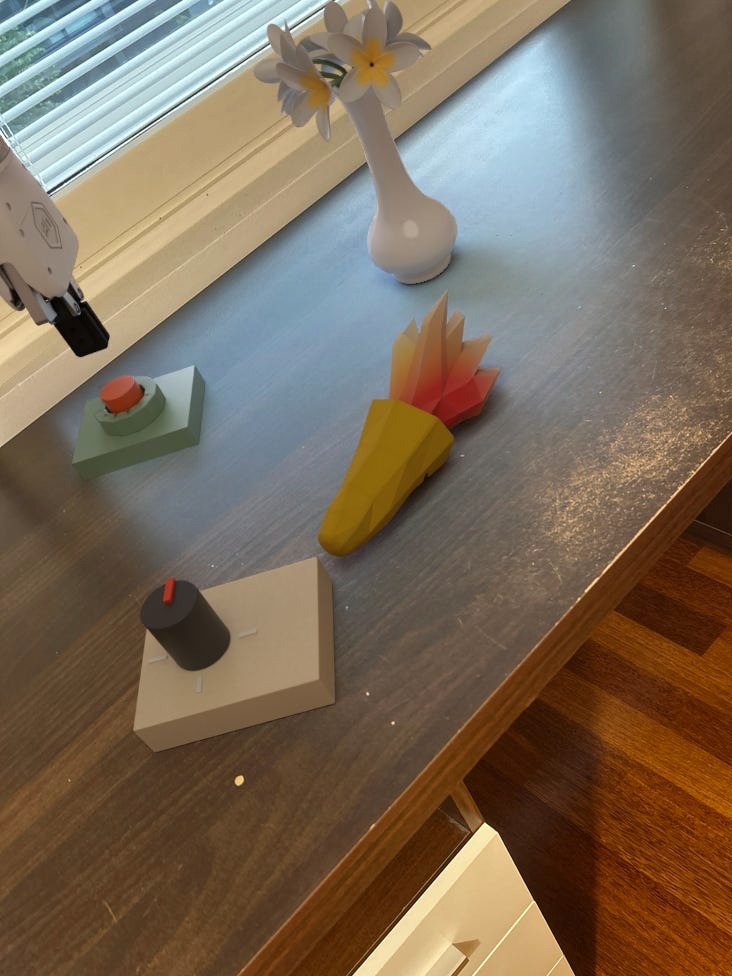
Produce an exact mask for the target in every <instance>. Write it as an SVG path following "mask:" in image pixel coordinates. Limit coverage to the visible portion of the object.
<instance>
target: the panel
mask: <svg viewBox="0 0 732 976" xmlns="http://www.w3.org/2000/svg"><path fill="white" fill-rule="evenodd" d="M199 591H200V592H201V594H202V595H203V596H204V598H205V599H206V600H207V602H208V603H209V604H210V606H211V607H212V608H213V610H214V611H215V612H216V614H217V615H218V616H219V618H220V619H221V620H222V622H223V623H224V624H225V626H226V627H227V628H228V630H229V632H230V643H229V646H228V648H227V650H226V651H225V653H224V654H223V655H222V657H221V658H220V659H218V660H217V661H216V662H215V663H213V664H212V665H210V666H208V667H206V668H204V669H201V670H195V671H189V670H185V669H183V668H181V667H179V666H178V664H177V663H176V662H175V661H174V660H173V659H172V657H171V656H170V655H169V654H168V653H167V652H166V650H165V649H164V648H163V647H162V646H161V645H160V643H159V642H158V641H157V640H156V639H155V637H154V636H153V635H152V634H151V633H150V632H149V630H148V629H147V628H146V631H145V637H144V646H143V654H142V660H141V661H142V662H141V669H140V676H139V684H138V691H137V692H138V693H137V698H136V706H135V713H134V722H133V729H132V730H133V732H134V733H135V734H136V735H137V737H139V738H140V739H141V741H143V742H144V743H145V745H146V746H148V747H149V748H150V750H152V751H153V752H154V753H158V752H162V751H165V750H169V749H174V748H177V747H180V746H184V745H187V744H192V743H196V742H199V741H202V740H205V739H209V738H213V737H217V736H220V735H224V734H229V733H231V732H235V731H239V730H242V729H246V728H250V727H253V726H257V725H261V724H264V723H268V722H272V721H276V720H279V719H282V718H287V717H290V716H294V715H297V714H301V713H305V712H308V711H311V710H312V711H313V710H316V709H319V708H322V707H323V708H324V707H326V706H330V705H334V704H336V679H335V677H336V675H335V673H336V672H335V639H334V638H335V637H334V601H333V599H334V598H333V597H334V596H333V581H332V579H331V577H330V575H329V574H328V572H327V570H326V568H325V567H324V566H323V563H322V562H321V560H320V559H319V557H318V556H313V557H310V558H307V559H303V560H300V561H297V562H293V563H290V564H287V565H283V566H280V567H276V568H273V569H269V570H267V571H263V572H260V573H256V574H253V575H249V576H246V577H243V578H240V579H236V580H233V581H229V582H226V583H222V584H219V585H216V586H212V587H209V588H206V589H202V590H199Z"/></svg>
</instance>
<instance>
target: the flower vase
mask: <svg viewBox="0 0 732 976" xmlns="http://www.w3.org/2000/svg"><path fill="white" fill-rule="evenodd" d="M366 2H367V6H368V8H366V9H364V10H362V11H360V12H359V13H356V14H354V15H352V17H350V18H349V19H348V16H347V14H346V12H345V9H344V8H343V6H341V4H340V3H338V2H337V1H333V0H331V1H329V2H327V3H326V4H325V7H324V8H323V23H324V26H325V29H326V31H319V32H318V31H316V32H314V33H312V34H310V35H304V36H303V37H302V38H300V39H299V40H298V42H297V43H296V42H295V41H294V38H293V36H292V34H291V31H290V28H289V25H288V23H287V20H286V18H284V21H283V22H284V30H283V29H282V28H281V27H280V26H278V25H277V24H276V23H269V24H268V25H267V26H266V36H267V39H268V42H269V44H270V47H271V49H272V50H273V51H274V53H275V54H276V55H278V57H269V58H266V59H262V60H261V61H259V62H257V63H256V64H255V65H254V67H253V69H252V70H253V71H252V72H253V76H254V77H255V79H256V80H257V81H259V82H261V83H264V84H271V85H272V84H273V85H274V84H278V87H277V88H278V89H277V95H276V97H277V102H278V103H279V102H281V109H280V114H279V115H280V116H281V117H282V115H283V113H285V114H286V115H287V116H289V117H290V118H291V123H292V124H293V125H294V127H295V128H297V129H299V128H303V127H305V126H306V125H307V123H309V121H310V120H311V119H312V118H313V116H314V115H315V123H316V124H315V125H316V128H317V130H318V131H317V132H318V133H319V135H320V137H321V138H322V140H324V141H325V142H326V143H329V141H330V140H331V136H332V135H331V133H332V132H331V120H330V106H332V105H333V104H334V103H335V101H336V100H335V99H338V100H339V102H340V104H341V105H342V107H343V109H344V111H345V112H346V113H347V116H348V118H349V119H350V121H351V123H352V125H353V127H354V130H355V132H356V134H357V137H358V140H359V143H360V145H361V148H362V151H363V154H364V157H365V159H366V162H367V165H368V169H369V172H370V176H371V178H372V182H373V186H374V191H375V211H374V212H375V213H374V215H373V216H374V217H373V219H372V220H371V223H370V225H369V227H368V232H367V236H366V244H367V245H366V246H367V254H368V257H369V258H370V260H371V261H372V263H373V265H374V266H375V267H377V268H379V269H380V270H382V271H383V272H384V273H387V274H389V275H393V277H394V278H395V280H396V281H398V282H400V283H401V284H406V285H417V284H422V283H425V282H428V281H430V280H432V279H435V278H436V277H438V276H439V275H441V274H442V273H443V272H444V271H445V270H446V269H447V268H448V266H449V265H450V263H451V259H452V254H451V252H452V251H453V249H454V247H455V244H456V241H457V238H458V232H459V227H458V223H457V219H456V218H455V216H454V214H453V213H452V211H451V210H450V209H449V207H447V206H446V204H445V203H443V202H442V201H440V200H438V199H436V198H434V197H432V196H430V195H428V194H426V193H424V192H423V191H422V190H421V189H420V187H419V186H417V184H416V183H415V182H414V180H413V179H412V178H411V176H410V173H409V172H408V170H407V168H406V166H405V164H404V162H403V159H402V157H401V154H400V152H399V149H398V147H397V145H396V141H395V140H394V139H395V138H394V137H393V134H392V131H391V128H390V126H389V123H388V120H387V117H386V114H385V110H384V106H385V107H386V108H388V109H389V110H397V109H399V108H401V105H402V99H403V97H402V91H401V87H400V85H399V83H398V81H397V79H396V77H395V76H394V75H393V73H397V72H401V71H403V70H404V71H405V70H406V69H408V68H410V67H412V66H413V65H414V64H415V63H416V62H417V61H418V60H419V58H420V57H421V58H425V56H424V54H423V53H422V52H421V51H420V50H422V51H431V50H432V49H433V48H432V46H431V44H430V43H429V42H428V41H426V40H425V39H424V38H422V37H421V36H419V35H418V34H415V33H413V32H408V31H403V32H401V30H402V29H403V25H404V24H403V23H404V21H403V20H404V19H403V15H402V13H401V11H400V9H399V7H398V5H397V4H395V2H393V1H392V0H386V1H385V2H384V5H383V9H381V8H380V6H379V3H378V2H377V1H376V0H366ZM400 32H401V33H400ZM316 65H320V70H318V68H317V67H316ZM344 65H347V66H349V67H351V69H350V70H348V71H347V69H346V68H344ZM336 71H338V72H340V73H341V75H339V74H337V73H335V72H336ZM326 79H330V81H327V80H326ZM448 264H449V265H448ZM446 267H447V268H446ZM445 268H446V269H445ZM444 269H445V270H444ZM443 270H444V271H443ZM441 272H442V273H441ZM440 273H441V274H440ZM437 275H438V276H437ZM429 279H430V280H429ZM427 280H428V281H427ZM424 281H425V282H424ZM421 282H422V283H421ZM416 283H417V284H416Z"/></svg>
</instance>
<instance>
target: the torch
mask: <svg viewBox="0 0 732 976" xmlns="http://www.w3.org/2000/svg"><path fill="white" fill-rule="evenodd" d="M448 302H449V288H446V289H445V291H444V292H443V294H441V296H440V297H439V298H438V300H437V301H436V302H435V303H434V305H433V306H432V307H431V308H430V309H429V311H428V312H427V313H426V314H425V315H424V316H423V319H422V322H421V326H420V330H419V329H418V326H417V322H416V319H415V317H412V319H411V320H410V322H409V323H408V325H407V326H406V328H405V330H404V331H403V328H401V329H400V330H399V332H398V334H397V336H396V338H395V339H394V341H393V343H392V345H391V346H392V347H391V363H390V376H389V377H390V379H389V391H388V393H389V395H388V399H386V398H385V399H383V398H382V399H378V398H376V399H375V398H374V399H372V401H371V403H370V406H369V409H368V412H367V415H366V418H365V422H364V425H363V428H362V431H361V435H360V437H359V441H358V444H357V447H356V449H355V451H354V454H353V457H352V459H351V462H350V463H349V466H348V468H347V471H346V474H345V476H344V478H343V480H342V483H341V485H340V487H339V489H338V492H336V495H335V496H334V497H333V500H332V501H331V502H330V504H329V506H328V507H327V508H326V511H325V514H324V516H323V519H322V523H321V524H320V527H319V531H318V533H317V541H318V543H319V545H320V546H321V548H322V549H323V550H324V551H325V552H326V553H328V555H330V556H334V557H338V558H339V557H340V558H341V557H347V556H348V555H349V554H351V553H352V552H354V551H355V550H357V549H358V548H361V547H362V546H363V545H365V544H366V543H368V542H369V541H370V540H371V539H372V538H373V537H374V536H376V535H377V534H378V533H379V532H380V531H381V530H382V529H384V527H386V526H387V525H388V524H389V523H390V522H391V520H392V519H393V518H394V517H395V515H396V513H397V512H398V511H399V510H400V508H401V507H402V505H403V504H404V503H405V501H406V500H407V499H408V498H409V497H410V495H411V494H412V493H413V492H414V491H415V490H416V489H417V488H418V487H419V486H420V485H421V484H423V483H424V480H425V477H427V478H429V477H430V476H432V475H433V474H434V473H435V472H436V471H438V469H440V468H441V467H442V466H443V465H444V464H445V463H446V462H447V461H448V458H449V456H450V453H451V450H452V447H453V445H454V443H455V436H454V435H453V434H452V433H451V431H450V430H451V429H452V428H454V427H455V426H457V425H459V424H460V423H461V422H464V421H465V420H468V419H471V418H473V417H474V418H475V417H476V416H479V415H480V414H481V412H482V410H483V408H484V406H485V405H486V404H485V403H486V402H487V400H488V398H489V395H490V394H491V392H492V389H493V387H494V385H495V383H496V381H497V379H498V377H499V375H500V372H501V370H502V369H503V367H502V366H501V367H499V366H498V367H484V368H483V367H482V368H481V367H480V364H481V363H482V360H483V358H484V356H485V354H486V352H487V350H488V347H489V345H490V343H491V341H492V339H493V337H494V332H490V333H486V334H482V335H479V336H476V337H473V338H470V339H465V340H463V338H464V331H465V330H464V329H465V321H466V320H465V319H466V315H465V314H464V313H463V312H461V311H460V310H458V309H457V308H454V310H453V312H452V314H451V316H450V318H449V319H448V306H449V305H448V304H449V303H448Z"/></svg>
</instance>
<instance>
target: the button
mask: <svg viewBox="0 0 732 976" xmlns="http://www.w3.org/2000/svg"><path fill="white" fill-rule="evenodd" d="M133 377H134V376H132V375H129V374H128V375H120V376H118V377H115V378H113V379H112V380H110V381H109V382H107V383H106V384H105V385H104V386H103V387H102V388H101V390H100V392H99V396H100V397H101V399H102V400H103V402H104V403H105V405H106V406H107V407H108V409H109V410H110V412H111V413H114V414H117V413H120V412H124V411H127V410H129V409H130V408H132V407H133V406H135V405H136V404H138V402H139V401H140V400H141V399H142V398H143V396H144V393H143V391H142V390H141V388H140V387H139V385H138V384H137V382H136V381H135V379H134V378H133Z"/></svg>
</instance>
